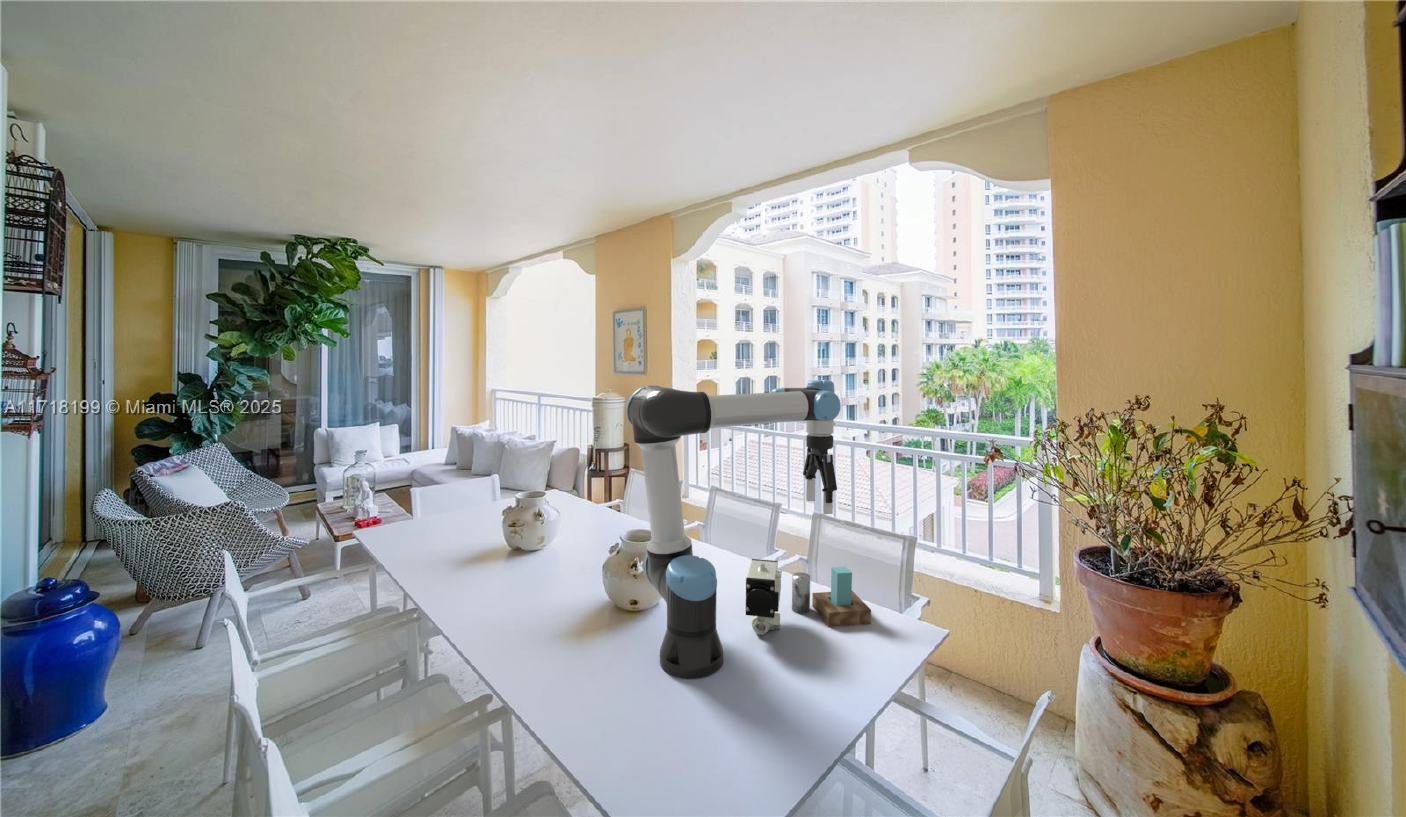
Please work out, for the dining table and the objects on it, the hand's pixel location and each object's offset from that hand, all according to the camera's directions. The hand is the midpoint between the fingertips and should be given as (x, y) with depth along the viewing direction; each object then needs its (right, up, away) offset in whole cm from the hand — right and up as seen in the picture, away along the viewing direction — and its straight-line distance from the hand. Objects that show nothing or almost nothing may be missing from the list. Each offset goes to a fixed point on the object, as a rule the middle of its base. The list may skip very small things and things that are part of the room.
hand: (818, 507), depth 149 cm
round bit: (-5, -29, -2) cm, 30 cm away
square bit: (+5, -29, -5) cm, 30 cm away
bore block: (+5, -29, -5) cm, 30 cm away
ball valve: (-17, -30, -12) cm, 37 cm away
